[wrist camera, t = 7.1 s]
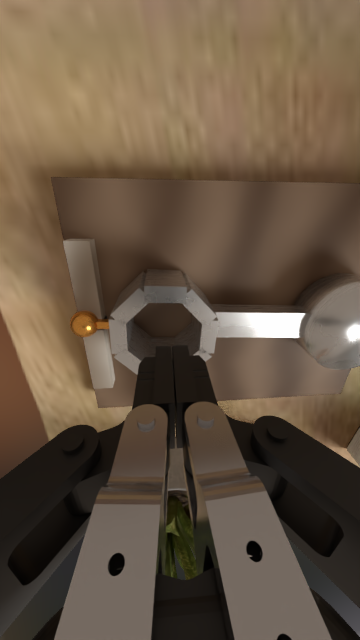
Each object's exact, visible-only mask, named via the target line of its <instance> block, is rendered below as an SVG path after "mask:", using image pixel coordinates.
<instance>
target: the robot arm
mask: <svg viewBox="0 0 360 640" xmlns="http://www.w3.org/2000/svg"><path fill="white" fill-rule="evenodd" d="M175 428H176V444H177V448H183V459H184V462H183V470H184V478H185V484H186V490H187V497H188V503H189V510H190V516H191V523H192V529H193V537H194V550H195V560H196V569H197V576H195V577H194V578H192V579H189V580H180V579H177V578H174V577H170V576H167V575H165V547H166V520H167V499H168V478H169V468H170V449H175ZM85 533H86V534H85ZM84 534H85V538H84V541H83V544H82V547H81V551H80V554H79V557H78V561H77V564H76V568H75V571H74V574H73V578H72V581H71V584H70V588H69V591H68V595H67V598H66V601H65V605H64V607H62V608H61V609H60V610H59V611H58V612H57V613H56V614H55V615H54V616H53V617H52V618H51V619H50V620H49V621H48V622H47V623H46V624H45V625H44V626H43V628H42V629H41V630H40V631H39V632H38V633H37V635H36V636H35V637H34V638H33V639H32V640H360V637H359V636H358V635H357V634H356V632H355V631H353V629H352V628H351V627H350V626H349V625H348V624H347V623H346V622H345V620H344V619H343V618H342V617H341V616H340V615H339V614H338V613H337V612H336V611H335V610H334V609H333V608H332V606H331V605H330V604H328V603H327V602H326V601H325V600H324V599H323V598H322V597H321V596H320V595H319V594H317V593H316V592H315V591H314V590H312V589H311V588H310V587H308V584H307V582H306V580H305V577H304V575H303V573H302V571H301V568H300V566H299V564H298V562H297V559H296V557H295V555H294V552H293V550H292V548H291V546H290V544H289V541H288V539H287V537H288V538H289V539H290V540H291V541H292V542H293V543H294V544H295V545H296V546H297V547H298V548H299V549H300V550H301V551H302V552H303V553H304V554H305V555H306V556H307V557H308V558H309V559H310V560H311V561H312V562H313V563H314V564H315V565H316V566H317V567H318V568H319V569H320V570H321V571H322V572H323V573H325V575H326V576H327V577H328V578H329V579H330V580H331V581H332V582H333V583H334V584H335V585H336V586H337V587H339V588H340V589H341V590H342V591H343V592H344V593H345V594H346V595H347V596H348V597H349V598H350V599H351V600H352V601H353V602H354V603H355V604H356V605H357V606H358V607H359V608H360V468H359V467H358V466H356V465H354V464H353V463H351V462H350V461H348V460H347V459H345V458H343V457H342V456H340V455H339V454H337V453H336V452H334V451H332V450H331V449H329V448H328V447H326V446H325V445H323V444H321V443H320V442H318V441H317V440H315V439H314V438H312V437H310V436H309V435H307V434H306V433H304V432H303V431H301V430H299V429H298V428H296V427H295V426H293V425H292V424H290V423H288V422H287V421H285V420H283V419H281V418H278V417H275V416H263V417H260V418H258V419H257V420H256V421H255V423H254V424H250V423H246V422H242V421H238V420H235V419H232V418H230V417H229V416H227V415H226V414H225V413H224V411H223V410H222V409H221V408H220V407H219V406H218V404H217V400H216V397H215V393H214V390H213V386H212V383H211V379H210V376H209V373H208V369H207V366H206V362H205V361H204V360H203V359H202V358H201V357H200V356H199V355H191V356H190V355H189V350H188V345H174V346H172V351H171V346H156V354H155V357H144V359H143V360H142V361H141V362H140V364H139V368H138V374H137V381H136V388H135V394H134V401H133V407H132V411H130V412H129V414H128V415H127V417H126V419H125V421H123V422H122V423H121V424H119V425H117V426H116V427H113V428H110V429H108V430H105V431H102V432H99V433H97V431H96V430H95V429H94V428H93V427H91V426H88V425H77V426H73V427H70V428H68V429H66V430H64V431H63V432H61V433H60V434H58V435H57V436H56V437H55V438H53V439H52V440H51V441H49V442H48V443H47V444H45V445H44V446H43V447H42V448H40V449H39V450H38V451H37V452H35V453H34V454H32V455H31V456H30V457H28V458H27V459H26V460H25V461H23V462H22V463H21V464H19V465H18V466H17V467H15V468H14V469H13V470H11V471H10V472H9V473H8V474H6V475H5V476H4V477H3V478H1V479H0V637H1V636H2V635H3V633H4V632H5V631H6V629H7V628H8V627H9V626H10V625H11V624H12V622H13V621H14V620H15V619H16V617H17V616H18V615H19V614H20V613H21V611H22V610H23V609H24V608H25V606H26V605H27V604H28V603H29V602H30V600H31V599H32V598H33V597H34V596H35V594H36V593H37V592H38V591H39V589H40V588H41V587H42V586H43V584H44V583H45V582H46V581H47V579H48V578H49V577H50V576H51V575H52V573H53V572H54V571H55V570H56V569H57V567H58V566H59V565H60V564H61V563H62V561H63V560H64V559H65V557H66V556H67V555H68V554H69V553H70V552H71V550H72V549H73V548H74V547H75V545H76V544H77V543H78V542H79V541H80V539H81V538H82V537H83V536H84ZM286 536H287V537H286Z"/></svg>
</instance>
